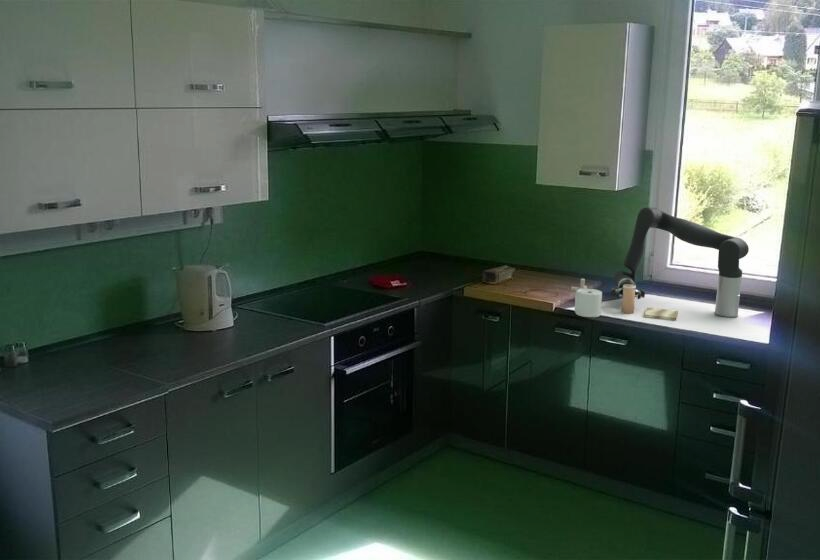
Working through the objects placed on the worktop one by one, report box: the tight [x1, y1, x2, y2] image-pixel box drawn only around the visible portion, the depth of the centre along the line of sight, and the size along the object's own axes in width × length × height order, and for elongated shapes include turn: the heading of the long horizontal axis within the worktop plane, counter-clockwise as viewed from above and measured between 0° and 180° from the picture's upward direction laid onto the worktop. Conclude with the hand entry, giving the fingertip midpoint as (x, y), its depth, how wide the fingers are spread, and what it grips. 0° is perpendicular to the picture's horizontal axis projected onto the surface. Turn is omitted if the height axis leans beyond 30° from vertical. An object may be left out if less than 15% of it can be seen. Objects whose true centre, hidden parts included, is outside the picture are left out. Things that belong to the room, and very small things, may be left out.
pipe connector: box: [570, 278, 588, 292], centre depth 371 cm, size 10×10×10 cm
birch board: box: [643, 307, 679, 321], centre depth 349 cm, size 13×12×1 cm
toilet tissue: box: [574, 288, 603, 318], centre depth 349 cm, size 11×12×10 cm
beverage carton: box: [481, 264, 516, 282], centre depth 406 cm, size 8×19×7 cm, turn 141°
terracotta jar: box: [621, 284, 637, 315], centre depth 352 cm, size 5×5×12 cm
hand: (628, 296), depth 352 cm, fingers open, 8 cm apart
